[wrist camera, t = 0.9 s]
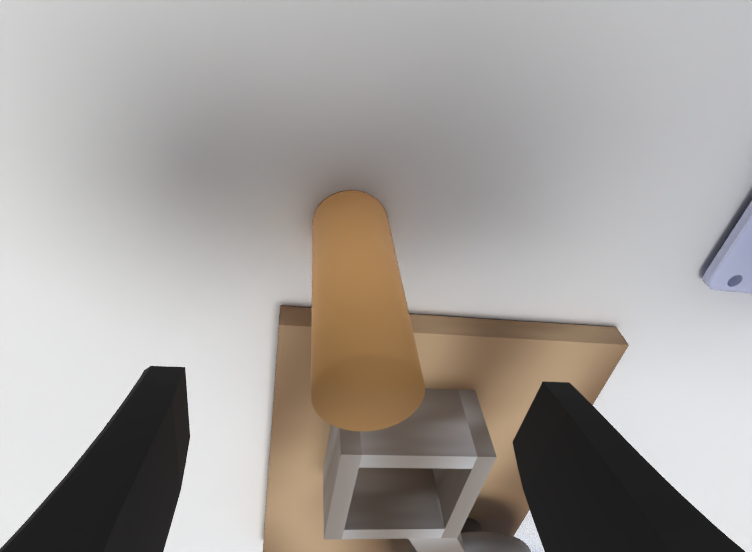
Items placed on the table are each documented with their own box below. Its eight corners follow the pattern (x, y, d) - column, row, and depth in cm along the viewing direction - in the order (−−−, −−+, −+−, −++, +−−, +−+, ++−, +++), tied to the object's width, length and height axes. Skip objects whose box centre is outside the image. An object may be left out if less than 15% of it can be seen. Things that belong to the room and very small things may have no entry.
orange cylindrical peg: (394, 194, 16) (436, 357, 10) (381, 258, 17) (412, 432, 12) (316, 186, 16) (316, 350, 10) (309, 252, 17) (306, 430, 11)
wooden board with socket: (616, 327, 20) (720, 476, 15) (491, 546, 30) (528, 682, 25) (280, 306, 18) (266, 471, 13) (263, 549, 28) (251, 700, 23)
